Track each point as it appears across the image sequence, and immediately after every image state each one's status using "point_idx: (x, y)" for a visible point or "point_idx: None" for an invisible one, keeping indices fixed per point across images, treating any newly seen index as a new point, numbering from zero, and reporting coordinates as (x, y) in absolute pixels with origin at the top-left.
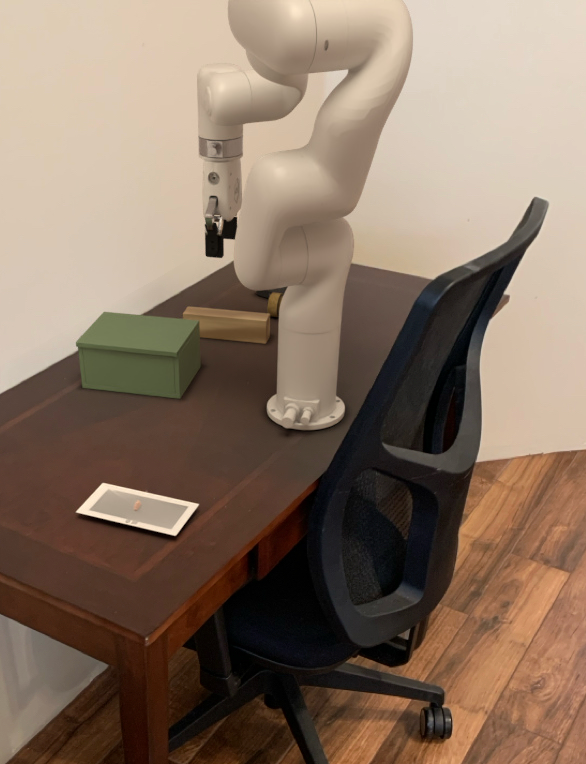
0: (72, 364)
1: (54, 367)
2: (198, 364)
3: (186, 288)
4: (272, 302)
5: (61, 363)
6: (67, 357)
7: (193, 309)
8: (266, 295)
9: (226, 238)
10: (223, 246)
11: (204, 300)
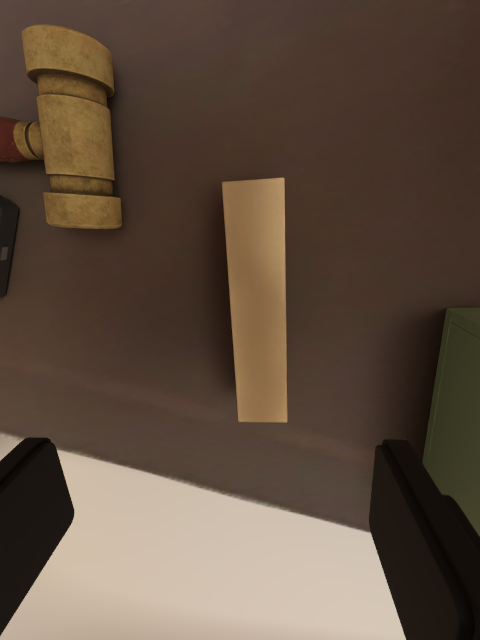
0: None
1: None
2: (474, 311)
3: None
4: (103, 213)
5: None
6: None
7: (255, 404)
8: (5, 267)
9: (66, 486)
10: (421, 496)
11: (87, 398)
